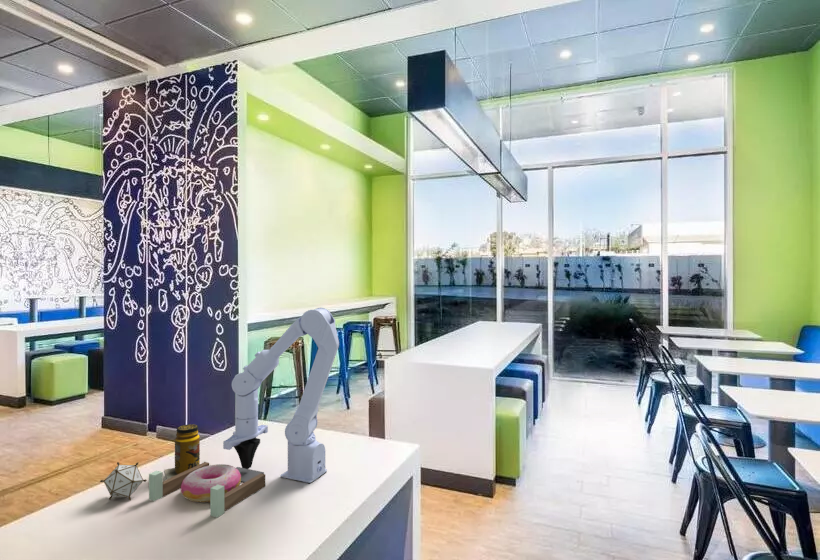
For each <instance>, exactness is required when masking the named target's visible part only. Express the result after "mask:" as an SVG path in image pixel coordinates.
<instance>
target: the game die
mask: <svg viewBox="0 0 820 560" xmlns="http://www.w3.org/2000/svg"><path fill="white" fill-rule="evenodd" d="M138 465H139V462H136V463H135V464H120V462H119V461H117V462H116V467H115V468H114V469H113V470H112V472H110V473H109V475H107V477H105V478H104V479H101V480H99V482H100V483H104V485H105V487H106V489H107V491H108V493H109V495H110V496H109V498H108V501H110V500H112V499H113V498H127V499H128V501H131V499H132V497H131V496H132V495H133V494H134V493H135V491H136V490H137V489H138V488H139V487H140V486H141V485H142V483H143V482H145V483H146V482H147V481H148V480H147V479H144V478H143V477H142V475H141V473H140V470H139V468H138Z"/></svg>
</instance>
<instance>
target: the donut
mask: <svg viewBox="0 0 820 560" xmlns="http://www.w3.org/2000/svg"><path fill="white" fill-rule="evenodd" d="M241 483H242V482H241V474H240V472H239V470H238V469H236V466H235V467H234V466H233V465H230V464H223V463H221V464H220V463H219V464H212V465H210V464H209V466H206V467H202V468H199V469H197V470H195V471H193V472H191V473H190V474H189V475H188V476H187V477H185V479H184V480H183V482H182V484H181V488H180V492H181V494H182V496H183V497H184V498H185V499H187V500H188V501H190V502H195V503H210V488H212V487H214V486H216V485H217V484H218V485H222V486H224V494H225V493H227V492H229V491H231V490H232V489H234V488H236V487H238V486H239V485H241Z"/></svg>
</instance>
